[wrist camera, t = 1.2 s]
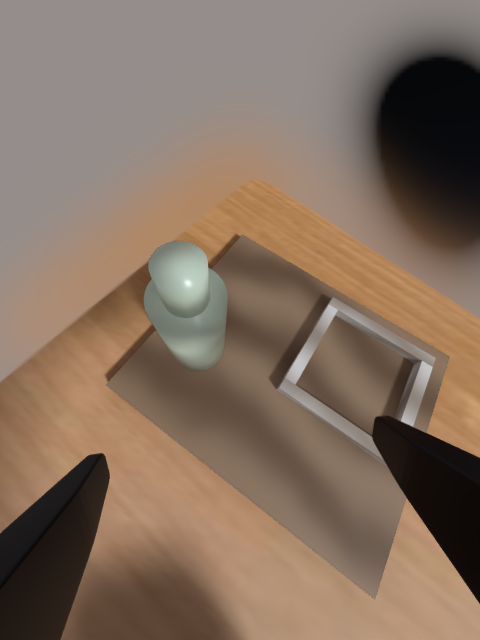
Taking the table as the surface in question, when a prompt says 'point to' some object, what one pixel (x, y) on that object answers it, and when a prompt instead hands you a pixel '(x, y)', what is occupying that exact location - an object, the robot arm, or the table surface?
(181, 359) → the bottle
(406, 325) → the table surface
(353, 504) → the board
